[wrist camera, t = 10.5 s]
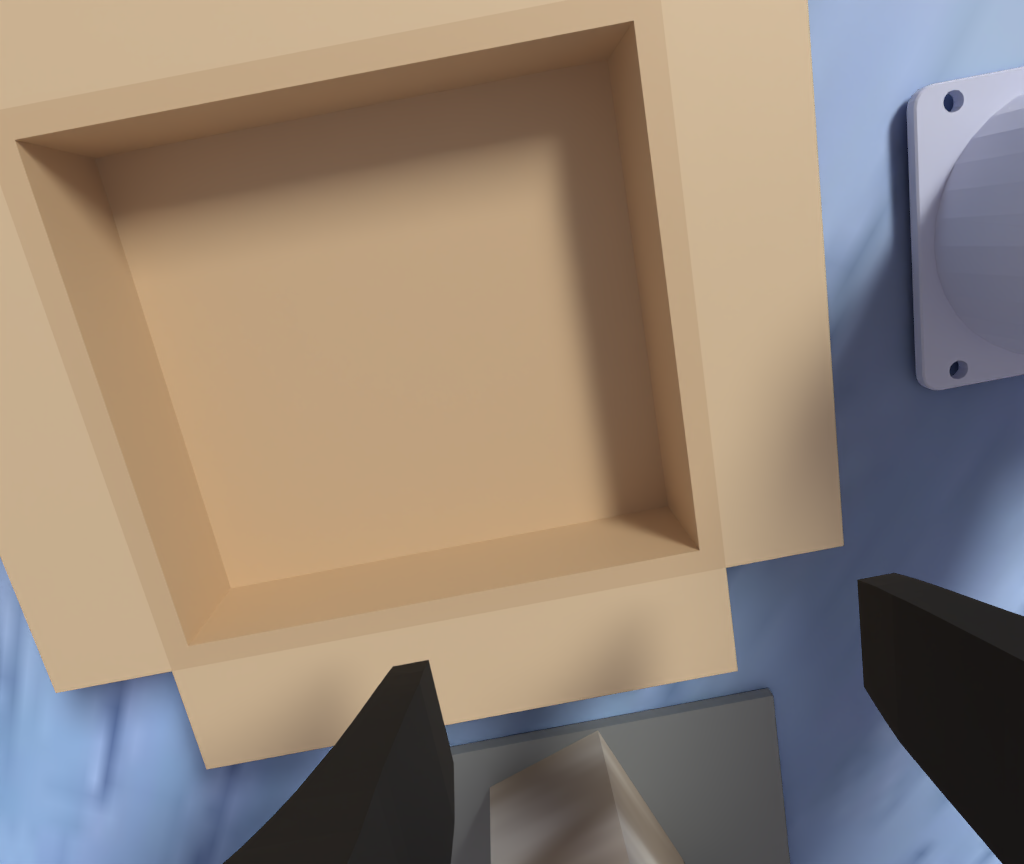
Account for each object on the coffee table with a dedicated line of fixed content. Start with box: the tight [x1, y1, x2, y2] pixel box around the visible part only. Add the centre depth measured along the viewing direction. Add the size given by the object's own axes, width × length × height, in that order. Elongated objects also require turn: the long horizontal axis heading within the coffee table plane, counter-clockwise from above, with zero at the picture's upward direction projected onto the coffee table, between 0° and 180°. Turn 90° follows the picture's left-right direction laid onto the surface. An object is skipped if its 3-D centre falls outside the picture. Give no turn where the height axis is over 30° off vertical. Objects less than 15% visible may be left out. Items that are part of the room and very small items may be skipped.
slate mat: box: [450, 688, 790, 864], centre depth 24 cm, size 12×10×1 cm
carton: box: [0, 0, 844, 769], centre depth 18 cm, size 20×19×4 cm
